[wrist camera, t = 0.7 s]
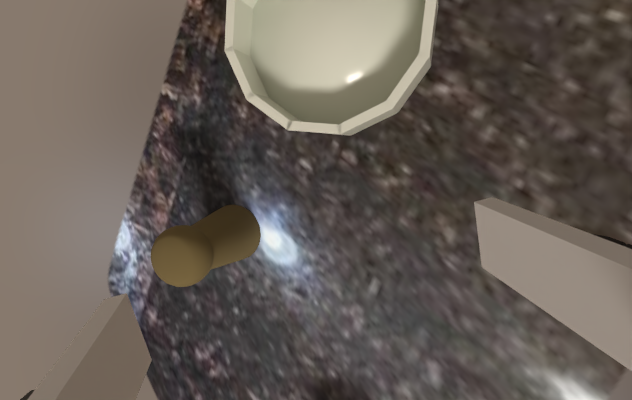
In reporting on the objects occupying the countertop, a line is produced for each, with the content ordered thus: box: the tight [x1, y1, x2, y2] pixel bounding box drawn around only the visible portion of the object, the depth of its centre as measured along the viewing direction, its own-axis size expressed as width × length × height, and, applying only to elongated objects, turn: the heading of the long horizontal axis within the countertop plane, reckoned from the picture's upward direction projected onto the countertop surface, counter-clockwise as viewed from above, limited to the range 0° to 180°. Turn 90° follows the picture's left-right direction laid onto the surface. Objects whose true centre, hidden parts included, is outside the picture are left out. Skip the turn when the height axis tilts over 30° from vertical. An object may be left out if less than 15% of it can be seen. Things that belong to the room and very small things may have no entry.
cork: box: [151, 205, 261, 287], centre depth 38 cm, size 6×6×11 cm
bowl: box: [225, 0, 438, 135], centre depth 35 cm, size 18×18×4 cm
